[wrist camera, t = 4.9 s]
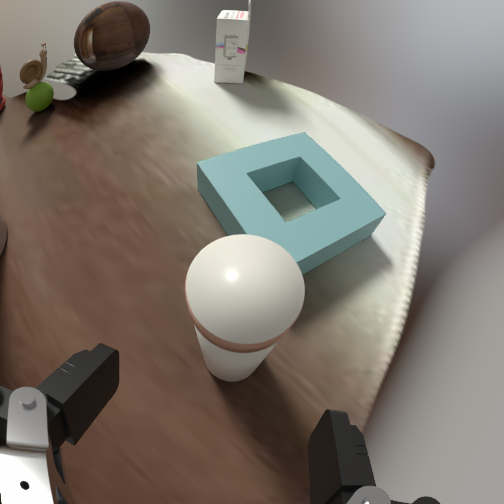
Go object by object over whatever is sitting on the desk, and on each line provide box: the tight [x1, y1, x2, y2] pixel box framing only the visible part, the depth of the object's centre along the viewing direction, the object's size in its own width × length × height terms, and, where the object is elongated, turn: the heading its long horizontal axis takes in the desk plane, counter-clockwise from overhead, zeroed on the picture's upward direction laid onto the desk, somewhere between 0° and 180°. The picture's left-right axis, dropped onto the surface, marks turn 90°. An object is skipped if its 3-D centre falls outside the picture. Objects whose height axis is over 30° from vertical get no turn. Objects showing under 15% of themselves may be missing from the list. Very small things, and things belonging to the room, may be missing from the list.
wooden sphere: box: [74, 1, 150, 71], centre depth 37 cm, size 15×15×15 cm
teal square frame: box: [197, 132, 386, 275], centre depth 26 cm, size 12×12×4 cm
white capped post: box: [185, 234, 305, 382], centre depth 15 cm, size 4×4×12 cm
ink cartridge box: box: [214, 0, 251, 84], centre depth 37 cm, size 9×5×15 cm, turn 0°
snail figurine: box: [20, 43, 54, 112], centre depth 30 cm, size 5×6×12 cm
